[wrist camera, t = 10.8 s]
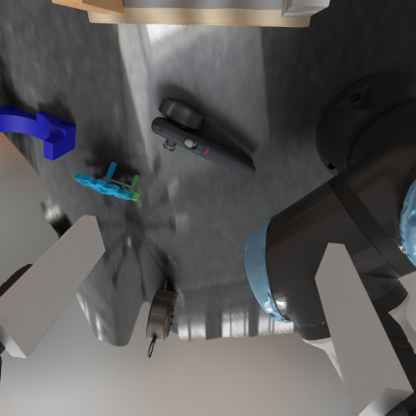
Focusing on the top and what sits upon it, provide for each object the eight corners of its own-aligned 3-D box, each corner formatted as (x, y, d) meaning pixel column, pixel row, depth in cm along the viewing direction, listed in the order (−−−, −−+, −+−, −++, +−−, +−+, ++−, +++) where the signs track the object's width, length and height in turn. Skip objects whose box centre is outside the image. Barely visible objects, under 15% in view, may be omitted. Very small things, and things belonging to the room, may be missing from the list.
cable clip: (76, 125, 42) (53, 135, 37) (75, 148, 45) (52, 160, 40) (7, 96, 41) (-26, 102, 36) (10, 121, 44) (-21, 130, 39)
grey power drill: (160, 276, 61) (134, 341, 47) (181, 280, 60) (161, 347, 47) (159, 302, 67) (136, 366, 53) (178, 306, 66) (160, 372, 53)
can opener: (152, 129, 41) (140, 139, 36) (169, 89, 37) (157, 95, 32) (241, 182, 44) (240, 198, 39) (265, 150, 40) (267, 164, 35)
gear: (80, 188, 47) (64, 176, 38) (91, 160, 48) (79, 142, 39) (136, 207, 50) (135, 200, 40) (146, 180, 51) (147, 168, 41)
